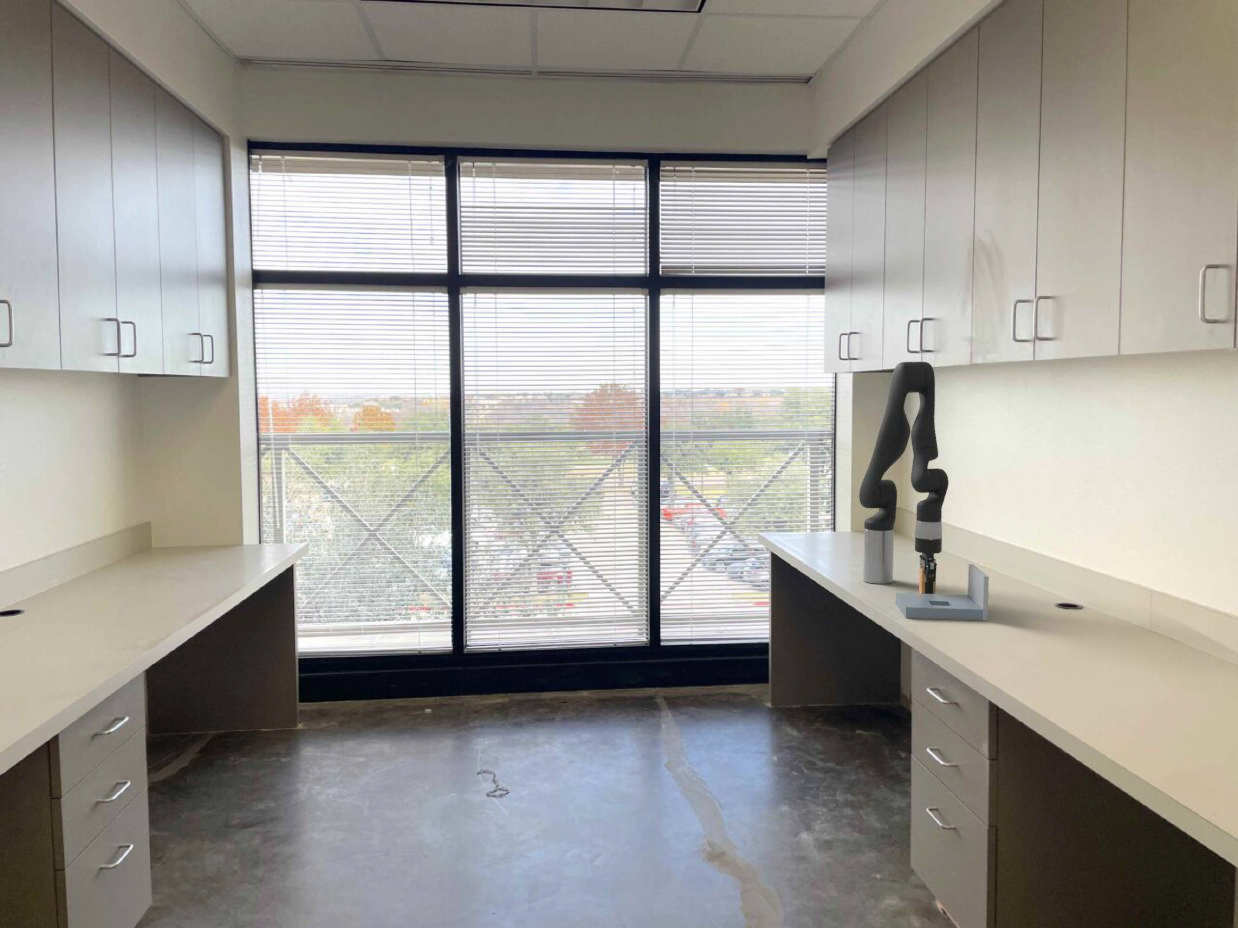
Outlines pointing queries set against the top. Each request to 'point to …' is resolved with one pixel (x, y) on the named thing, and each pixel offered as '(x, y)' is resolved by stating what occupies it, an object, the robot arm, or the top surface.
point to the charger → (922, 583)
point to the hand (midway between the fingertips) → (927, 592)
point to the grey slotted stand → (950, 601)
